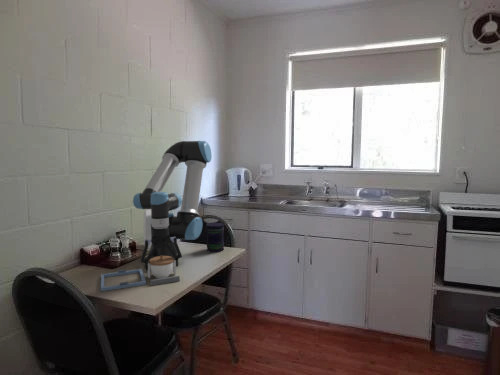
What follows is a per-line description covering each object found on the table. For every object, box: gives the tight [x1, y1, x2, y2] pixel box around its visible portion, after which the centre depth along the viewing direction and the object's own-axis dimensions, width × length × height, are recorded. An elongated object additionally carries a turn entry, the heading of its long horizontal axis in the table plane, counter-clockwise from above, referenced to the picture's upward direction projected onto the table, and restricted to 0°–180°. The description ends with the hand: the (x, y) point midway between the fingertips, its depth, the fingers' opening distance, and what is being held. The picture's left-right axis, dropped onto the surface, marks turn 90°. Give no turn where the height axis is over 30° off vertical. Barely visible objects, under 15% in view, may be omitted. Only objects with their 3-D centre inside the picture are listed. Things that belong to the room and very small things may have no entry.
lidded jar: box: [149, 256, 174, 279], centre depth 152 cm, size 11×11×9 cm
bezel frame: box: [100, 268, 147, 292], centre depth 147 cm, size 17×17×2 cm
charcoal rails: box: [145, 270, 181, 286], centre depth 153 cm, size 12×18×2 cm, turn 23°
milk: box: [143, 209, 152, 250], centre depth 201 cm, size 12×12×26 cm
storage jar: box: [205, 221, 225, 253], centre depth 192 cm, size 10×10×15 cm
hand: (162, 275), depth 153 cm, fingers closed on lidded jar, 11 cm apart
